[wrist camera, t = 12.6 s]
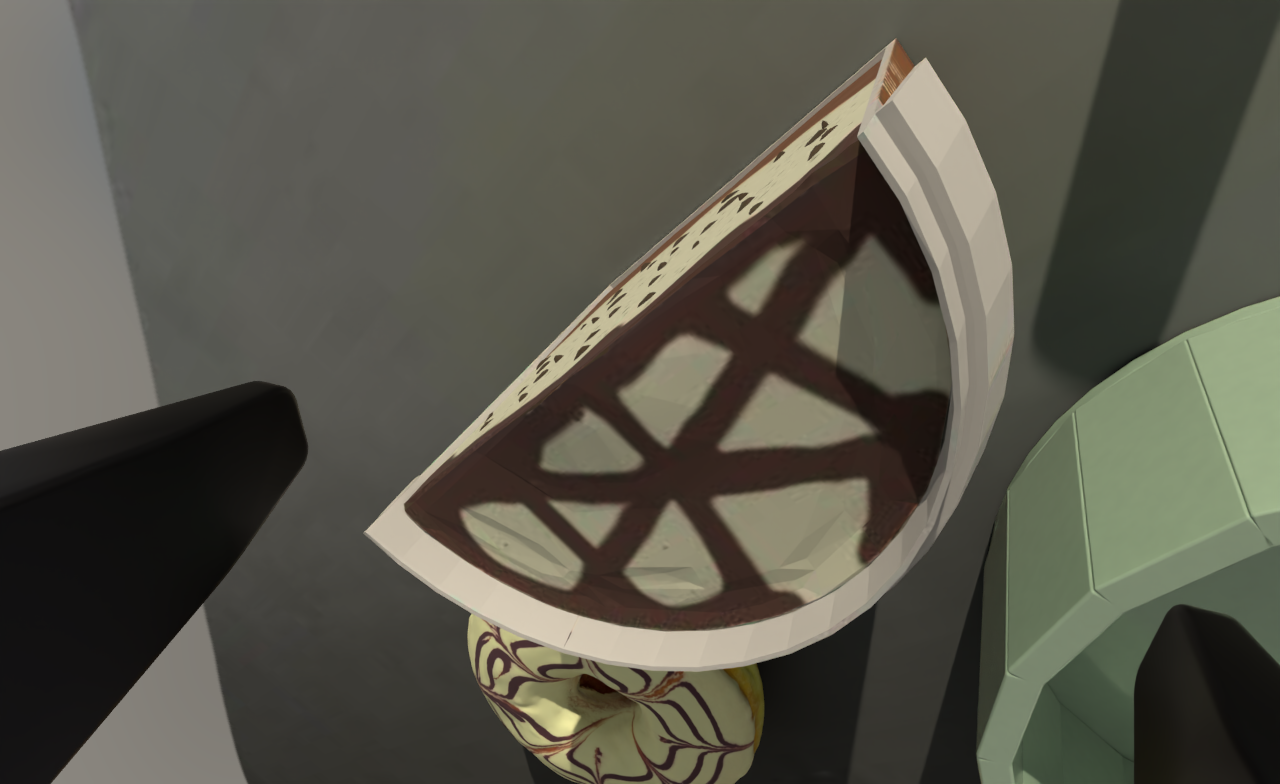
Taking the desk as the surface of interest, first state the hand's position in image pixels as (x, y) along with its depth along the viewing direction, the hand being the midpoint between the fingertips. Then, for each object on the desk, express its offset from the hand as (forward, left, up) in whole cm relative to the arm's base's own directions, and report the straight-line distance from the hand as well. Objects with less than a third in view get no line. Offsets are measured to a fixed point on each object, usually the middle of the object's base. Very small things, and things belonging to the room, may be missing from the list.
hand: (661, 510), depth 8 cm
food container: (+1, +3, -13) cm, 13 cm away
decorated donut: (+6, +18, -13) cm, 23 cm away
